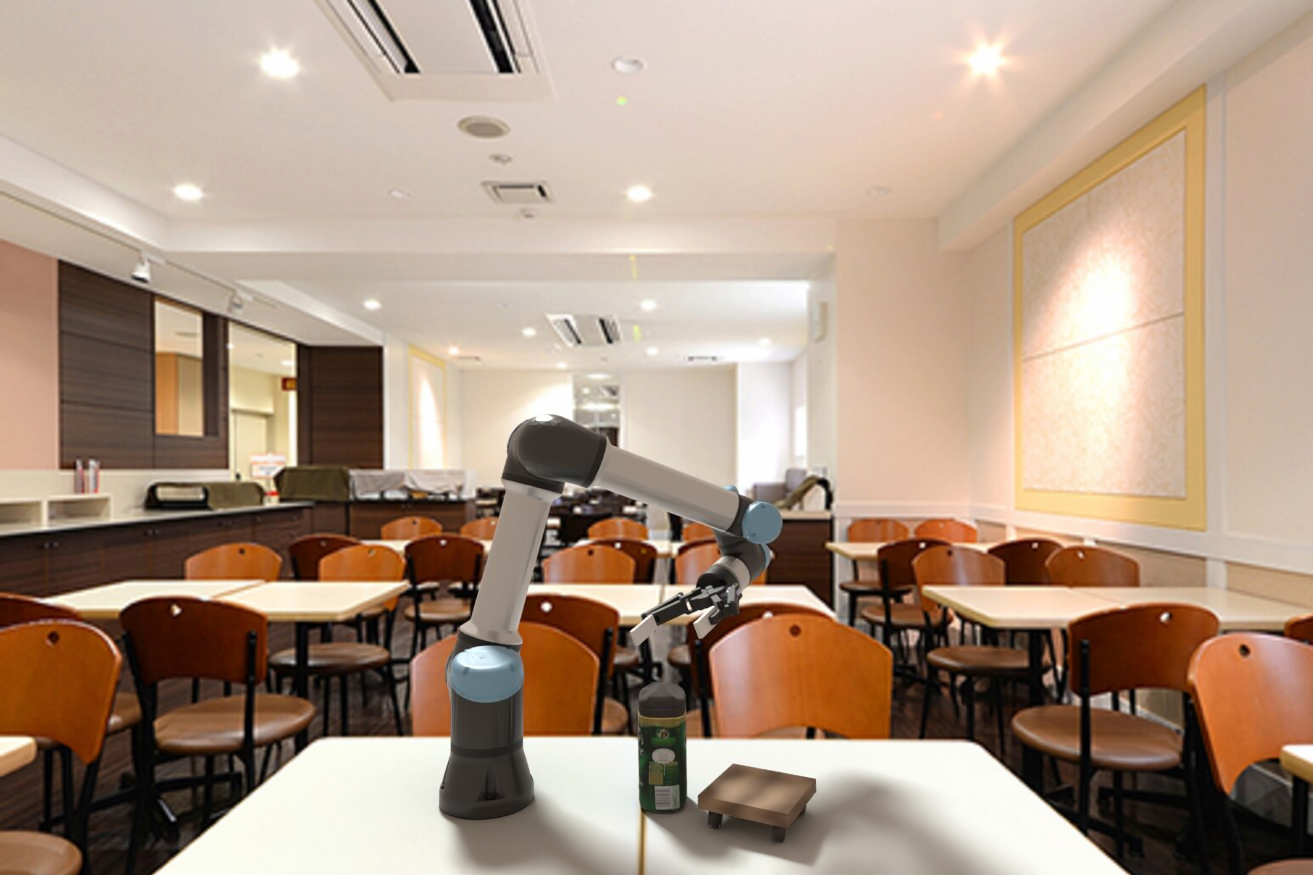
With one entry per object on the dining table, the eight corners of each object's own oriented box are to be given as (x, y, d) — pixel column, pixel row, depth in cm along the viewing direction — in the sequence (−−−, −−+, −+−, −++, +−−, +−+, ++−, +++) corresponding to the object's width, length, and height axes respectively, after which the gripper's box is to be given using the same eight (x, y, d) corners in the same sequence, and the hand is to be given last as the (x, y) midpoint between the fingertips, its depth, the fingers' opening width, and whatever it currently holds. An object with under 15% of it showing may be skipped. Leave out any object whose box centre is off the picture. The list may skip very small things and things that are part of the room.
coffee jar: (639, 789, 133) (639, 677, 133) (687, 789, 132) (686, 677, 133) (636, 815, 123) (635, 694, 124) (687, 815, 123) (686, 694, 123)
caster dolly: (697, 828, 118) (697, 794, 118) (733, 793, 131) (733, 763, 131) (788, 849, 112) (788, 813, 112) (816, 810, 124) (816, 778, 124)
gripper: (786, 592, 143) (734, 648, 126) (676, 608, 158) (616, 660, 140) (772, 554, 143) (718, 605, 125) (663, 574, 157) (601, 622, 140)
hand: (664, 634), depth 133 cm, fingers open, 13 cm apart
